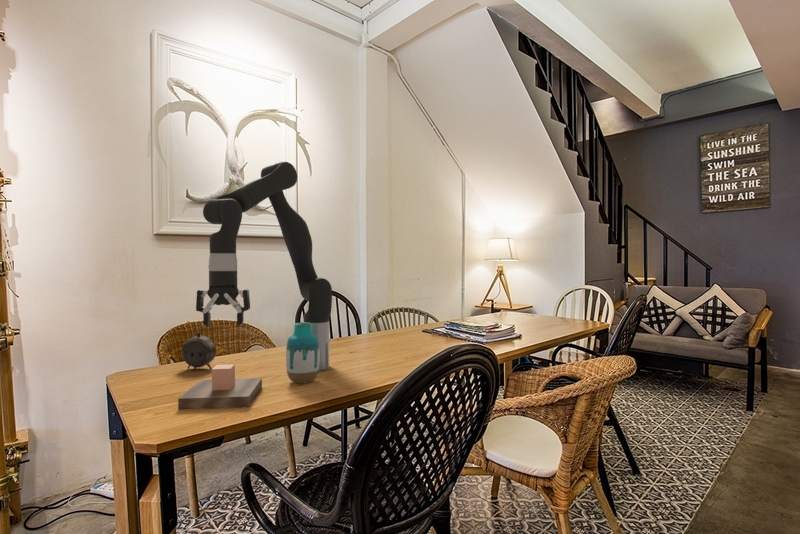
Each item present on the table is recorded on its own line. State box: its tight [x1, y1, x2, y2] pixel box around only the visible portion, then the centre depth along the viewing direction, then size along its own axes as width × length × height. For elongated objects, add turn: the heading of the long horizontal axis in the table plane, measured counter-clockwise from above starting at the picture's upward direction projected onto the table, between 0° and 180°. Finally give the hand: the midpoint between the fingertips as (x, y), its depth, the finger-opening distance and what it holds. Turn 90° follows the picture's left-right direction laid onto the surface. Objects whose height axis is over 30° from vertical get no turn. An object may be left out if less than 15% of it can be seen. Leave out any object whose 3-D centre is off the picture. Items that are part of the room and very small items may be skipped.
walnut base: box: [177, 377, 263, 411], centre depth 124 cm, size 18×18×3 cm
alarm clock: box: [181, 324, 217, 372], centre depth 156 cm, size 11×5×16 cm, turn 84°
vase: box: [285, 321, 320, 384], centre depth 141 cm, size 11×11×19 cm
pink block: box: [211, 364, 236, 390], centre depth 124 cm, size 5×5×6 cm
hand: (223, 325), depth 124 cm, fingers open, 8 cm apart
